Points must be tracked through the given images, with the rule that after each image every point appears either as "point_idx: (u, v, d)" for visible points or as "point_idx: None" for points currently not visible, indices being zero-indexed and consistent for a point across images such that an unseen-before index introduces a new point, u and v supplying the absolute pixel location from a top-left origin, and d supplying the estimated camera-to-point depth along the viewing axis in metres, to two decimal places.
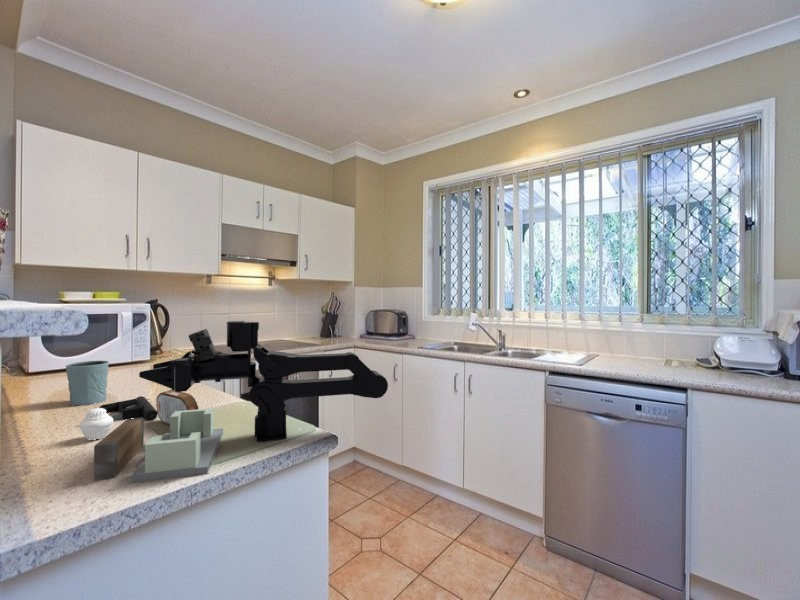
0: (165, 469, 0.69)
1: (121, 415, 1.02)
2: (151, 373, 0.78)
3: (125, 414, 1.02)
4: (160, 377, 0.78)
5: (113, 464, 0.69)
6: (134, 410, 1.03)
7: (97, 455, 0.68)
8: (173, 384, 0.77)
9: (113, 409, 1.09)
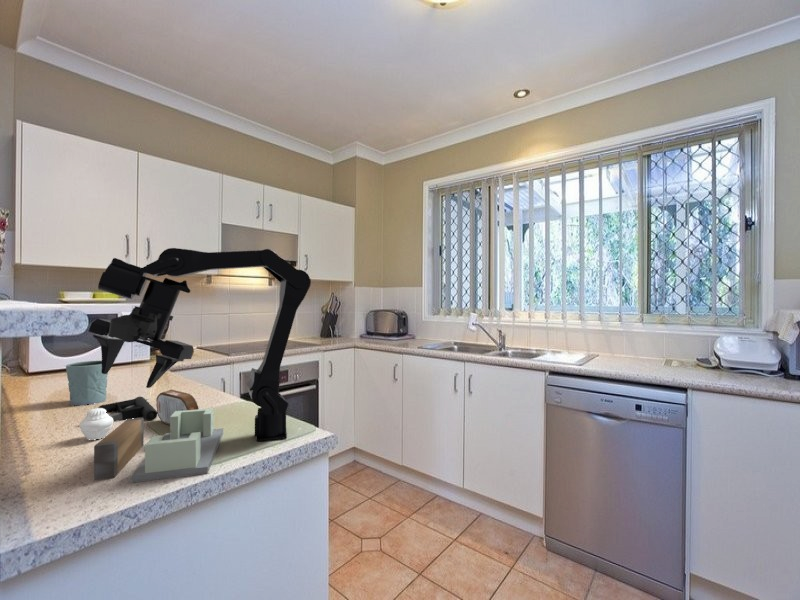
0: (165, 469, 0.69)
1: (120, 415, 1.01)
2: (156, 377, 0.77)
3: (125, 414, 1.01)
4: (163, 369, 0.79)
5: (113, 464, 0.69)
6: (134, 410, 1.03)
7: (97, 455, 0.68)
8: (182, 359, 0.80)
9: (112, 409, 1.08)
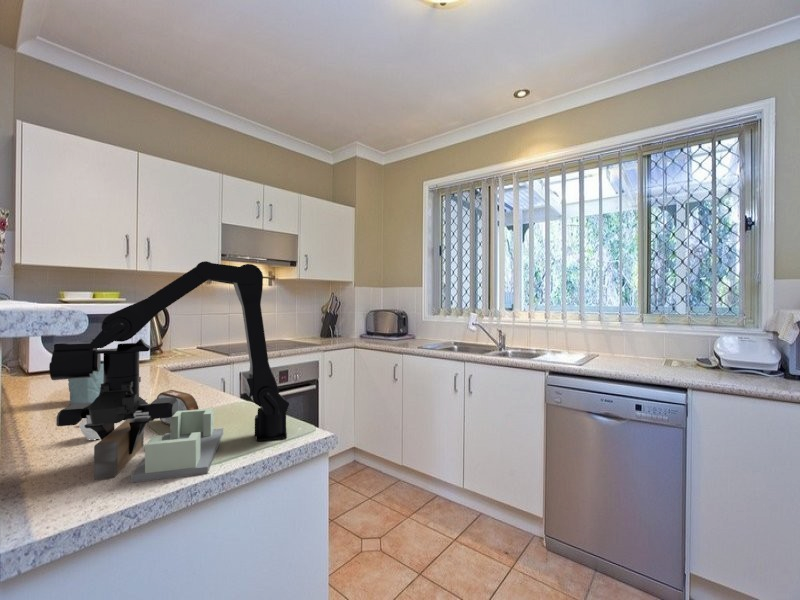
0: (165, 469, 0.69)
1: None
2: (136, 441, 0.76)
3: None
4: (139, 431, 0.77)
5: (113, 464, 0.69)
6: None
7: (97, 455, 0.68)
8: None
9: None
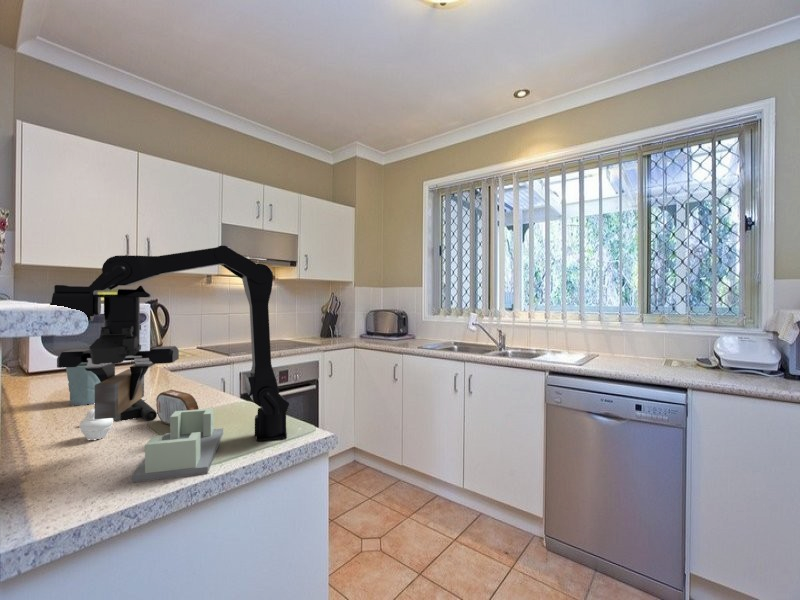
0: (165, 469, 0.69)
1: (119, 416, 1.01)
2: (136, 387, 0.76)
3: (123, 415, 1.01)
4: (140, 378, 0.77)
5: (113, 404, 0.69)
6: (132, 411, 1.02)
7: (97, 394, 0.68)
8: None
9: None
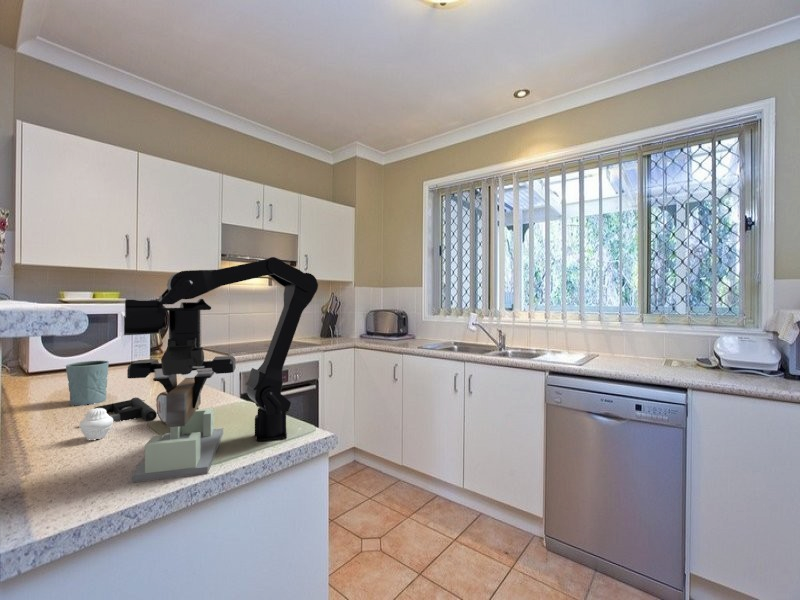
0: (165, 469, 0.69)
1: (119, 416, 1.01)
2: (198, 396, 0.80)
3: (123, 415, 1.01)
4: None
5: (183, 413, 0.72)
6: (132, 411, 1.02)
7: (169, 404, 0.71)
8: (213, 372, 0.83)
9: (108, 411, 1.07)
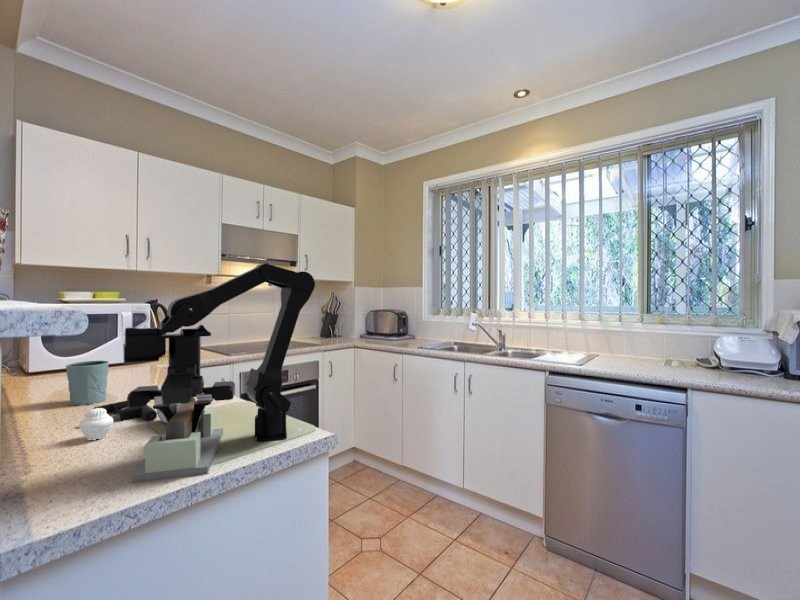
0: (165, 469, 0.69)
1: (119, 416, 1.01)
2: (198, 423, 0.80)
3: (123, 415, 1.01)
4: (200, 413, 0.81)
5: None
6: (132, 411, 1.02)
7: (168, 433, 0.71)
8: None
9: (107, 411, 1.07)
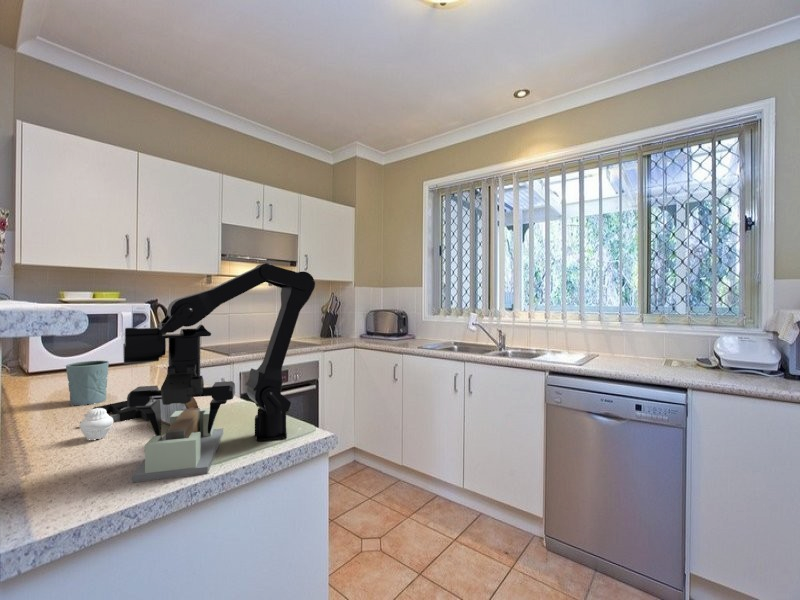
0: (165, 469, 0.69)
1: (118, 416, 1.00)
2: (213, 421, 0.81)
3: (123, 415, 1.01)
4: None
5: None
6: (132, 411, 1.02)
7: None
8: None
9: None
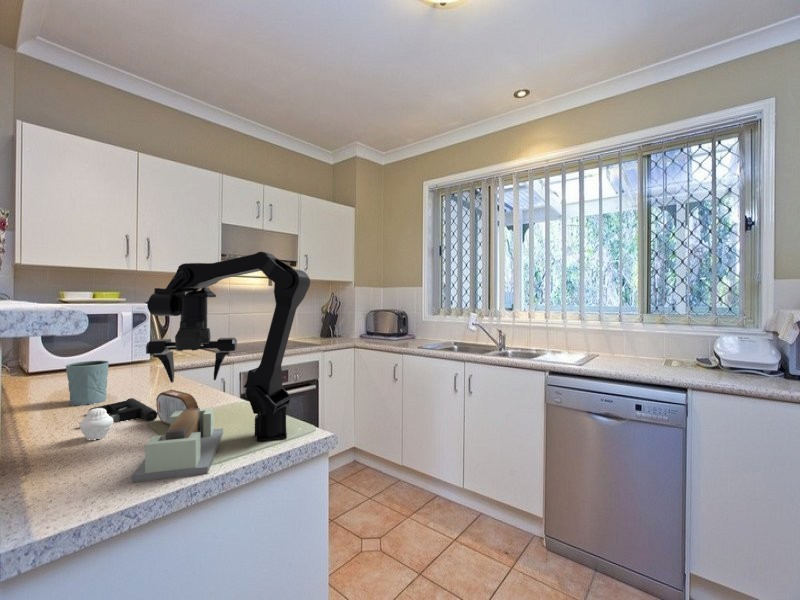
0: (165, 469, 0.69)
1: (118, 417, 1.00)
2: (218, 370, 0.95)
3: (122, 416, 1.00)
4: (220, 363, 0.96)
5: None
6: (131, 411, 1.02)
7: None
8: None
9: None
